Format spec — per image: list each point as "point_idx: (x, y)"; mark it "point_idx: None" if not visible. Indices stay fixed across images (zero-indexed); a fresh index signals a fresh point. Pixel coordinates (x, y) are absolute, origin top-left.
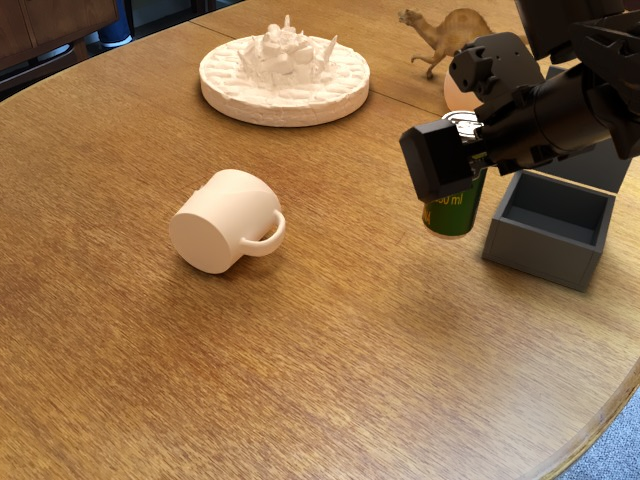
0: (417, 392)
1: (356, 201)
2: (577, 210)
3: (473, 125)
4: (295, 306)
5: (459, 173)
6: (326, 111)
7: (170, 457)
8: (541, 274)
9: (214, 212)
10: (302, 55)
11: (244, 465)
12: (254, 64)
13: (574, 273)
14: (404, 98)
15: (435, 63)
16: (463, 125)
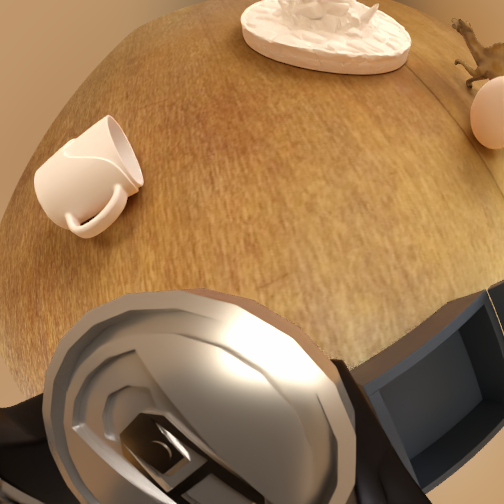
0: None
1: (273, 187)
2: (489, 380)
3: (204, 481)
4: (98, 301)
5: None
6: (333, 61)
7: (5, 350)
8: None
9: (44, 181)
10: (333, 7)
11: (22, 388)
12: (289, 6)
13: None
14: (435, 88)
15: (475, 77)
16: (136, 449)
